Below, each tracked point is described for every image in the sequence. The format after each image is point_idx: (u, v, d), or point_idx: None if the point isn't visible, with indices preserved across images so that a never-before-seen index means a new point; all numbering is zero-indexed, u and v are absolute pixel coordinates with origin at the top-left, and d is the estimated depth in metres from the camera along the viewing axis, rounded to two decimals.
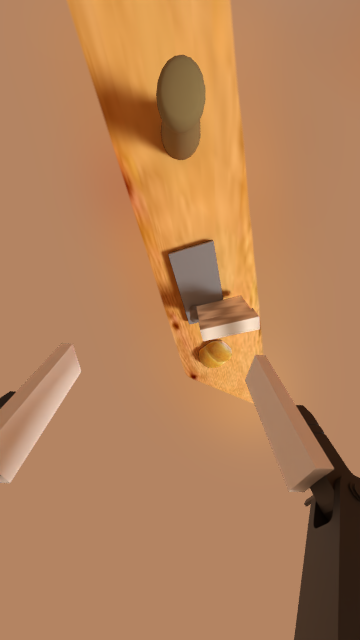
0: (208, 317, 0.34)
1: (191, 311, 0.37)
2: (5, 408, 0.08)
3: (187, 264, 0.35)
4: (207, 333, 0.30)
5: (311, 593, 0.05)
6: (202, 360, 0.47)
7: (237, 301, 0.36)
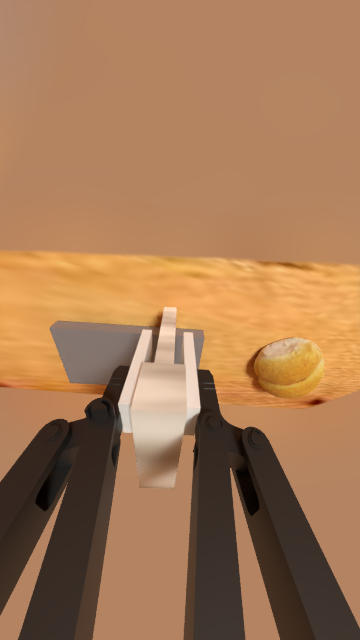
0: None
1: None
2: (131, 375, 0.10)
3: (86, 367, 0.22)
4: (153, 482, 0.12)
5: (191, 528, 0.06)
6: (281, 397, 0.23)
7: None
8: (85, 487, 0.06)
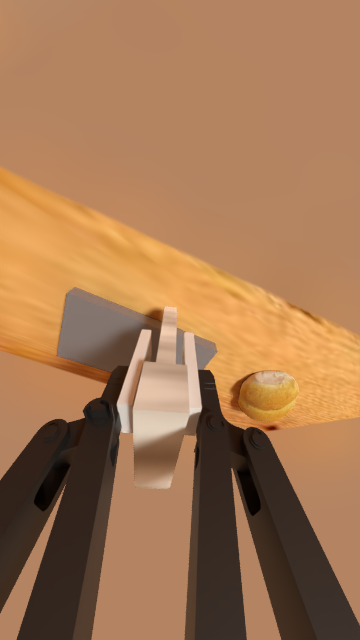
0: None
1: None
2: (130, 375, 0.10)
3: (85, 345, 0.20)
4: (149, 482, 0.12)
5: (193, 528, 0.06)
6: None
7: None
8: (83, 487, 0.06)
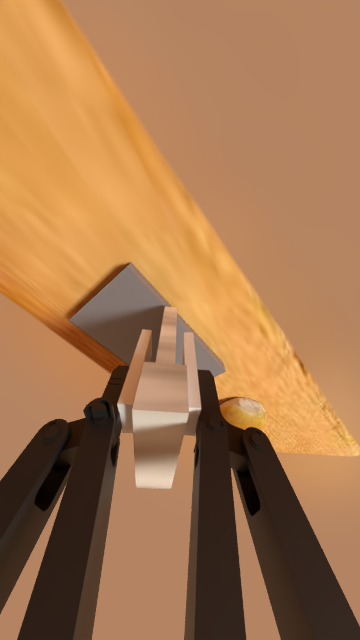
0: None
1: None
2: (130, 375, 0.10)
3: (108, 322, 0.18)
4: (150, 482, 0.12)
5: (192, 528, 0.06)
6: None
7: None
8: (84, 487, 0.06)
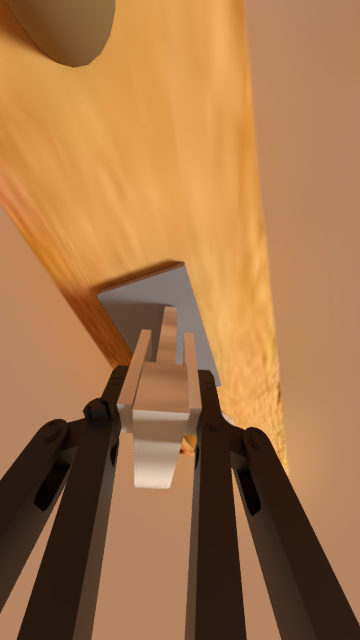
0: None
1: None
2: (130, 375, 0.10)
3: (137, 310, 0.18)
4: (149, 482, 0.12)
5: (192, 528, 0.06)
6: (188, 442, 0.30)
7: None
8: (84, 487, 0.06)
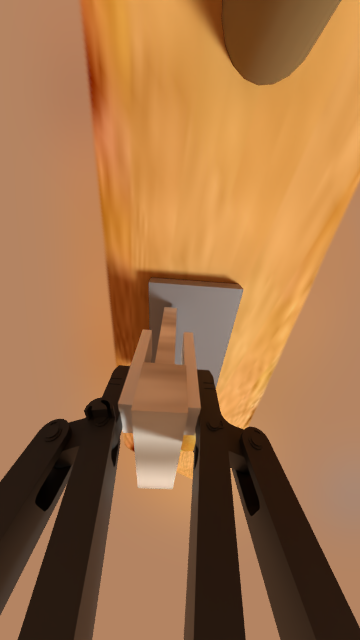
0: None
1: None
2: (131, 375, 0.10)
3: (179, 311, 0.18)
4: (152, 483, 0.12)
5: (192, 528, 0.06)
6: None
7: None
8: (85, 487, 0.06)
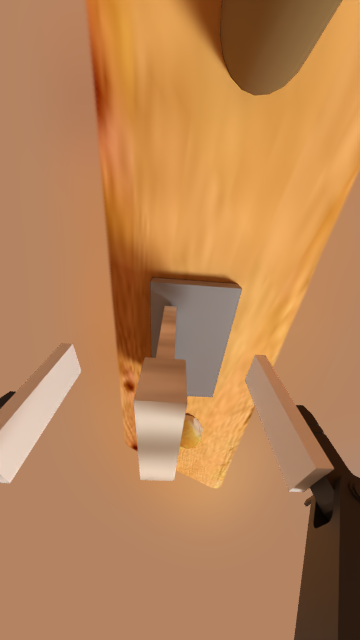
0: None
1: None
2: (5, 408, 0.08)
3: (180, 310, 0.18)
4: (154, 474, 0.13)
5: (311, 593, 0.05)
6: None
7: None
8: None
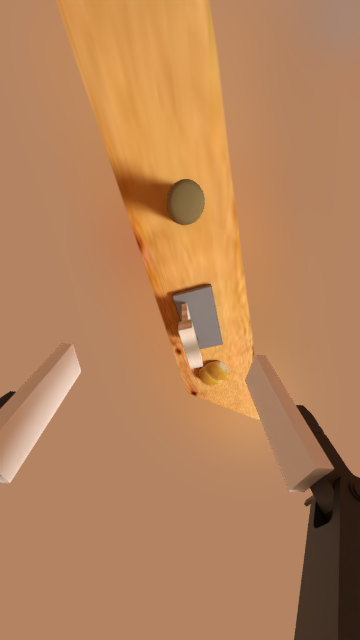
0: None
1: None
2: (5, 408, 0.08)
3: (188, 304, 0.40)
4: (194, 364, 0.35)
5: (311, 593, 0.05)
6: (202, 379, 0.52)
7: None
8: None
